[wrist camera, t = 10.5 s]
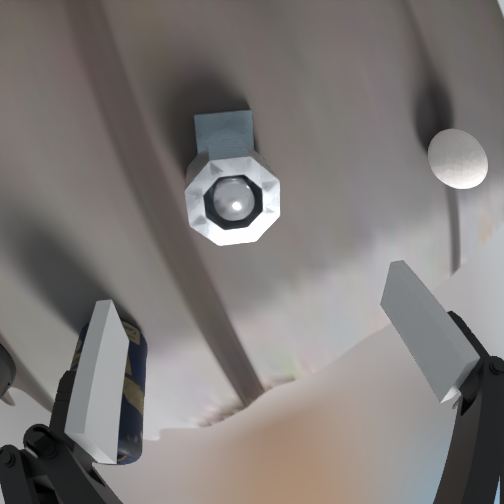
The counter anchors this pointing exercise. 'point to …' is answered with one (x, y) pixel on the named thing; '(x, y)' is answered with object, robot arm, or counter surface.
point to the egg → (457, 159)
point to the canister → (127, 394)
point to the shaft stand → (237, 186)
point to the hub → (228, 164)
